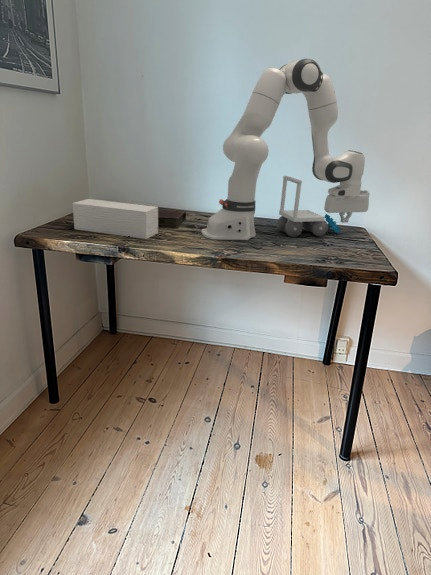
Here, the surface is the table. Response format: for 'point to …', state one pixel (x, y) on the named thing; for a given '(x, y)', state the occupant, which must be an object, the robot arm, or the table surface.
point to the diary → (170, 218)
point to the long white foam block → (116, 218)
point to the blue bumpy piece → (332, 224)
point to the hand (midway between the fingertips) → (344, 222)
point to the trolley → (299, 215)
